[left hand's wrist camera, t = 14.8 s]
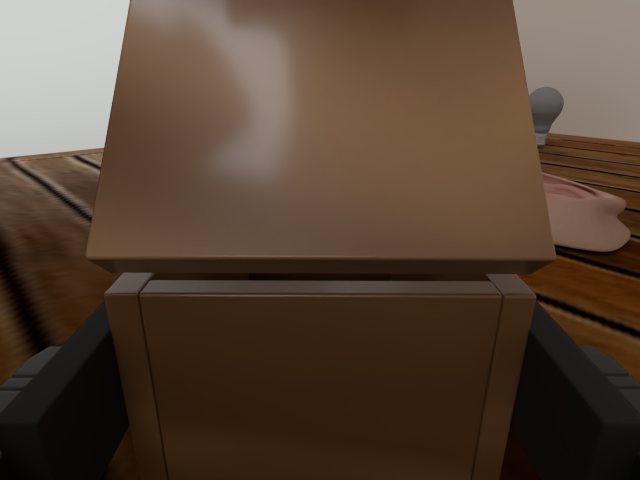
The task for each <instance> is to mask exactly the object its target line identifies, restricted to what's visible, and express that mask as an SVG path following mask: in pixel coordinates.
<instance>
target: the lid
mask: <svg viewBox="0 0 640 480" xmlns="http://www.w3.org/2000/svg"><path fill="white" fill-rule="evenodd" d="M86 259H87V260H89V261H91V262H93V263H95V264H96V265H98V266H100V267H102V268H104V269H105V270H107V271H109V272H111V273H341V274H531V273H533V272H535V271H537V270H539V269H541V268H543V267H544V266H546V265H548V264H550V263H552V262H554V261H555V260H556V253H555V247H554V241H553V236H552V230H551V224H550V218H549V212H548V206H547V200H546V194H545V189H544V183H543V177H542V171H541V165H540V159H539V153H538V147H537V141H536V136H535V130H534V124H533V118H532V112H531V106H530V100H529V94H528V88H527V83H526V77H525V71H524V65H523V59H522V53H521V47H520V42H519V36H518V30H517V24H516V18H515V12H514V6H513V0H130V5H129V10H128V16H127V22H126V27H125V33H124V39H123V44H122V50H121V56H120V61H119V67H118V73H117V79H116V84H115V90H114V96H113V101H112V107H111V113H110V119H109V124H108V130H107V136H106V142H105V147H104V153H103V159H102V164H101V170H100V176H99V182H98V187H97V193H96V199H95V204H94V210H93V216H92V222H91V227H90V233H89V239H88V244H87V250H86Z"/></svg>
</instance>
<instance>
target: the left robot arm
mask: <svg viewBox="0 0 640 480" xmlns="http://www.w3.org/2000/svg"><path fill="white" fill-rule="evenodd" d="M511 426H512V428H513V430H514V432H515V433H516V435H517V437H518V439H519V441H520V443H521V445H522V447H523V448H524V450H525V452H526V454H527V456H528V458H529V460H530V462H531V463H532V465H533V467H534V469H535V471H536V473H537V475H538V477H539V479H540V480H640V384H639V383H638V382H637V381H636V380H635V379H634V378H633V377H629V375H628V373H627V372H626V371H625V370H624V369H623V368H622V367H621V366H620V365H619V364H618V363H617V362H616V361H615V360H614V359H613V358H612V357H610V356H609V355H607V354H605V353H604V352H602V351H600V350H599V349H597V348H595V347H594V346H592V345H577V344H576V343H575V342H574V341H573V340H572V339H571V338H570V337H569V336H568V335H567V333H566V332H565V331H564V330H563V329H562V328H561V327H560V326H559V325H558V324H557V323H556V322H555V320H554V319H553V318H552V317H551V316H550V315H549V314H548V313H547V312H546V311H545V310H544V309H543V307H542V306H541V305H540V304H539V303H538V302H537V301H536V302H535V307H534V312H533V317H532V322H531V326H530V330H529V335H528V340H527V345H526V350H525V355H524V360H523V365H522V370H521V375H520V380H519V385H518V390H517V395H516V400H515V404H514V409H513V414H512V419H511ZM128 427H129V420H128V415H127V410H126V405H125V400H124V395H123V390H122V385H121V380H120V375H119V370H118V365H117V360H116V355H115V350H114V345H113V339H112V334H111V329H110V324H109V319H108V314H107V309H106V304H105V300H104V301H103V303H102V304H101V305H100V306H99V307H98V308H97V309H96V310H95V311H94V312H93V313H92V314H91V316H90V317H89V318H88V319H87V320H86V321H85V322H84V323H83V324H82V325H81V326H80V327H79V329H78V330H77V331H76V332H75V333H74V334H73V335H72V336H71V337H70V338H69V339H68V340H67V342H66V343H65V344H64V345H63V346H62V347H48V348H46V349H45V350H43V351H41V352H40V353H38V354H36V355H35V356H33V357H31V358H30V359H28V360H27V361H26V362H25V363H24V364H23V365H22V366H21V367H20V368H19V369H18V370H17V371H16V372H15V373H14V374H13V377H12V378H9V379H8V380H7V381H6V382H5V383H4V384H3V385H2V386H1V387H0V480H100V479H101V477H102V476H103V474H104V472H105V470H106V468H107V466H108V464H109V462H110V461H111V459H112V457H113V455H114V453H115V451H116V449H117V447H118V445H119V444H120V442H121V440H122V438H123V436H124V434H125V432H126V430H127V429H128Z"/></svg>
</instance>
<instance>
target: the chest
mask: <svg viewBox="0 0 640 480" xmlns="http://www.w3.org/2000/svg"><path fill="white" fill-rule="evenodd" d="M104 298H105V304H106V309H107V314H108V319H109V324H110V329H111V334H112V339H113V345H114V350H115V355H116V360H117V365H118V370H119V375H120V380H121V385H122V390H123V395H124V400H125V405H126V410H127V415H128V420H129V427H130V432H131V437H132V442H133V447H134V453H135V458H136V463H137V468H138V473H139V478H140V480H499V478H500V473H501V468H502V463H503V458H504V453H505V448H506V444H507V439H508V434H509V429H510V424H511V419H512V414H513V409H514V404H515V400H516V395H517V390H518V385H519V380H520V375H521V370H522V365H523V360H524V355H525V350H526V345H527V340H528V335H529V330H530V326H531V322H532V317H533V312H534V307H535V302H536V295H535V293H534V292H533V291H532V290H531V289H530V288H529V287H528V286H527V285H526V284H525V283H524V282H523V281H522V280H521V279H520V278H519V276H518V275H517V274H341V273H123V274H122V275H121V276H120V277H119V278H118V280H117V281H116V282H115V283H114V284H113V285H112V286H111V287H110V288H109V289H108V290H107V291H106V292H105V294H104Z"/></svg>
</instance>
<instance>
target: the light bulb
mask: <svg viewBox="0 0 640 480" xmlns="http://www.w3.org/2000/svg"><path fill="white" fill-rule="evenodd" d="M529 100H530V106H531V112H532V118H533V124H534V130H535V136H536V141H537V147H540V146H542V145H544V144H545V143H544V142H546V141H545V137H546V136H547V133H548V131H549V130H550V127H551V125H552V123H553V122H554V120H555V119H556V118H557V117H558V115H559V114H560V113H561V111H562V108H563V104H564V102H563V98H562V96H561V94H560V93H559V92H558V91H557V90H556V89H554V88H551V87H543V88H539V89H536V90H535V91H533V92H532V93H531V94H530V95H529Z"/></svg>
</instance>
